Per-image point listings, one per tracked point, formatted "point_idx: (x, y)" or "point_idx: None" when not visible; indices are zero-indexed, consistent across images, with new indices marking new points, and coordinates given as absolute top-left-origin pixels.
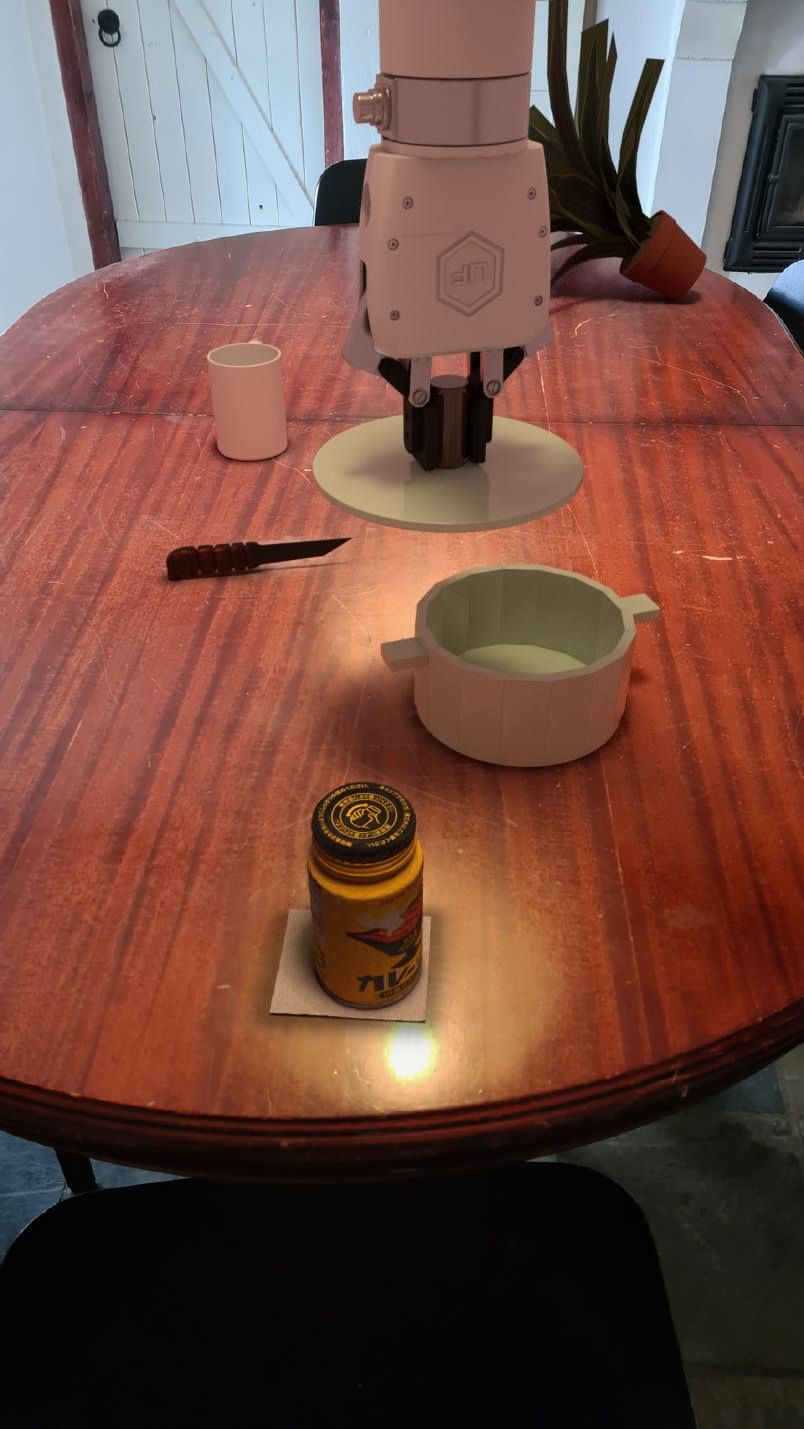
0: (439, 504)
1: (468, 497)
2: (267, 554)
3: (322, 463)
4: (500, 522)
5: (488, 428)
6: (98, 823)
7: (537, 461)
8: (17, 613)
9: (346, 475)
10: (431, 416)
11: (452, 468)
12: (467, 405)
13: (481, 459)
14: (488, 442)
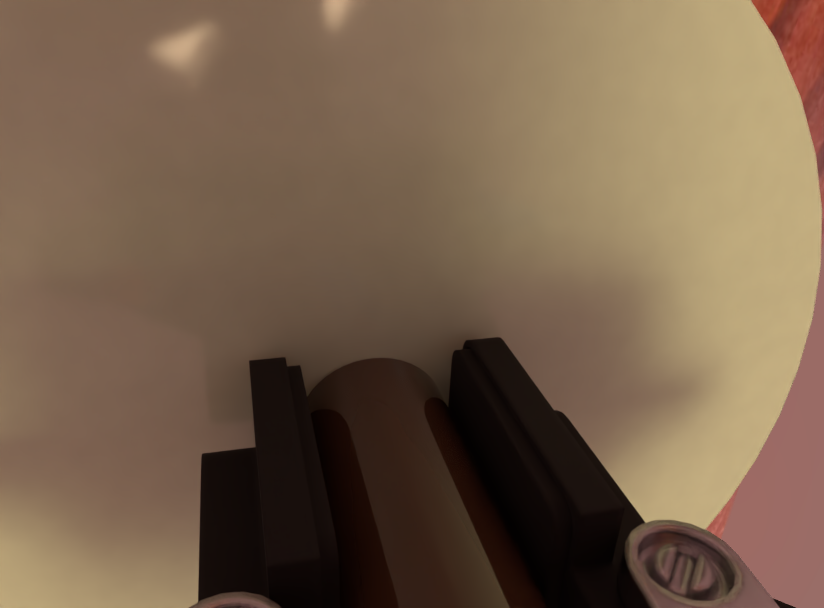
0: (553, 72)
1: (417, 97)
2: None
3: (727, 468)
4: None
5: (222, 489)
6: (793, 66)
7: None
8: (725, 508)
9: (712, 383)
10: (583, 477)
11: (379, 358)
12: (359, 571)
13: (267, 363)
14: (212, 453)
